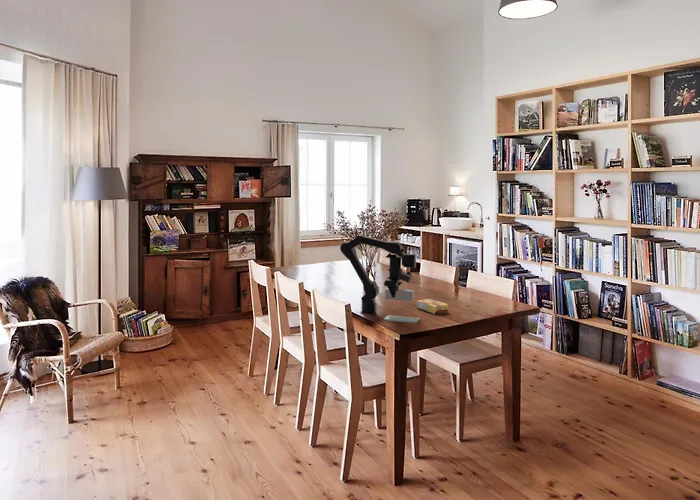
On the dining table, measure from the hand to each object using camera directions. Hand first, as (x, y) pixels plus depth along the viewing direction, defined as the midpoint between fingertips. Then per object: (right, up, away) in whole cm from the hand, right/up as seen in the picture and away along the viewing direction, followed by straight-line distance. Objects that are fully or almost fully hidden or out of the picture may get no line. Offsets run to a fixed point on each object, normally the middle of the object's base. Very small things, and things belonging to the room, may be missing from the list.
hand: (394, 296), depth 274 cm
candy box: (+25, -6, +2) cm, 26 cm away
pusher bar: (+3, -1, -1) cm, 3 cm away
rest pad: (+3, -10, -10) cm, 15 cm away
